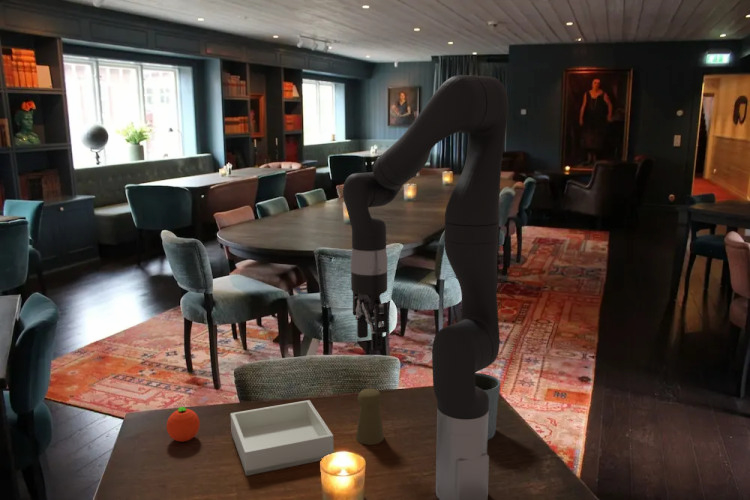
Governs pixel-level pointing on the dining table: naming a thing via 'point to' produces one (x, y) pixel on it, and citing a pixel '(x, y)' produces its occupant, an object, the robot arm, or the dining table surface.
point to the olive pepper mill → (369, 417)
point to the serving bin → (280, 436)
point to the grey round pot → (492, 389)
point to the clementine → (183, 424)
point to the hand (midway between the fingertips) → (369, 343)
